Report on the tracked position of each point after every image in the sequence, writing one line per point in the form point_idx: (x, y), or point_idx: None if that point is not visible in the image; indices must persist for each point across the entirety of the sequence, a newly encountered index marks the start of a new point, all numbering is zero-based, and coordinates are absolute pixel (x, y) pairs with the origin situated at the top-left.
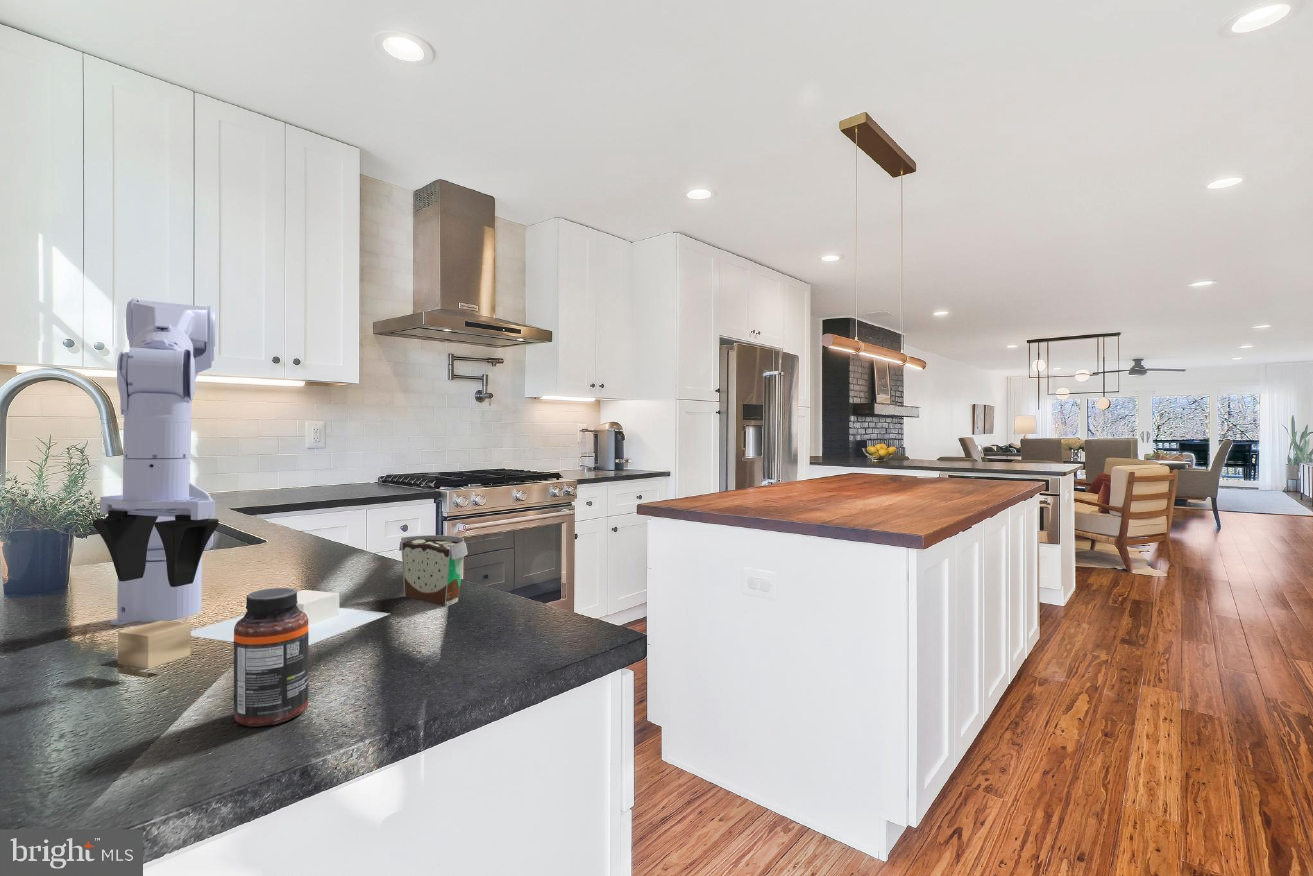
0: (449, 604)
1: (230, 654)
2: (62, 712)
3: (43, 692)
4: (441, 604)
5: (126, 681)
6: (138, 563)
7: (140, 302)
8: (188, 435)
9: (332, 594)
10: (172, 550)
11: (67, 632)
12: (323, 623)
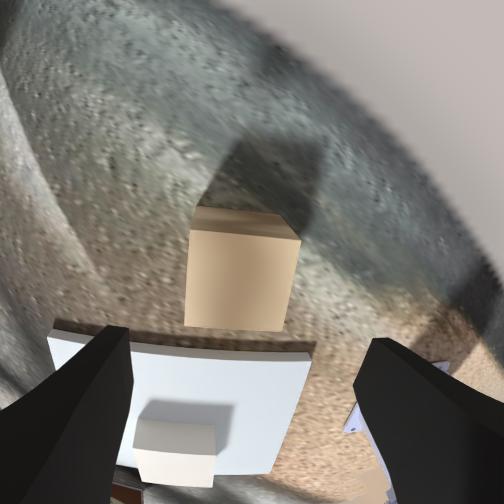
0: None
1: (165, 332)
2: (193, 50)
3: (319, 113)
4: None
5: (221, 183)
6: (378, 412)
7: None
8: None
9: (145, 478)
10: (8, 411)
11: (474, 326)
12: (128, 432)
